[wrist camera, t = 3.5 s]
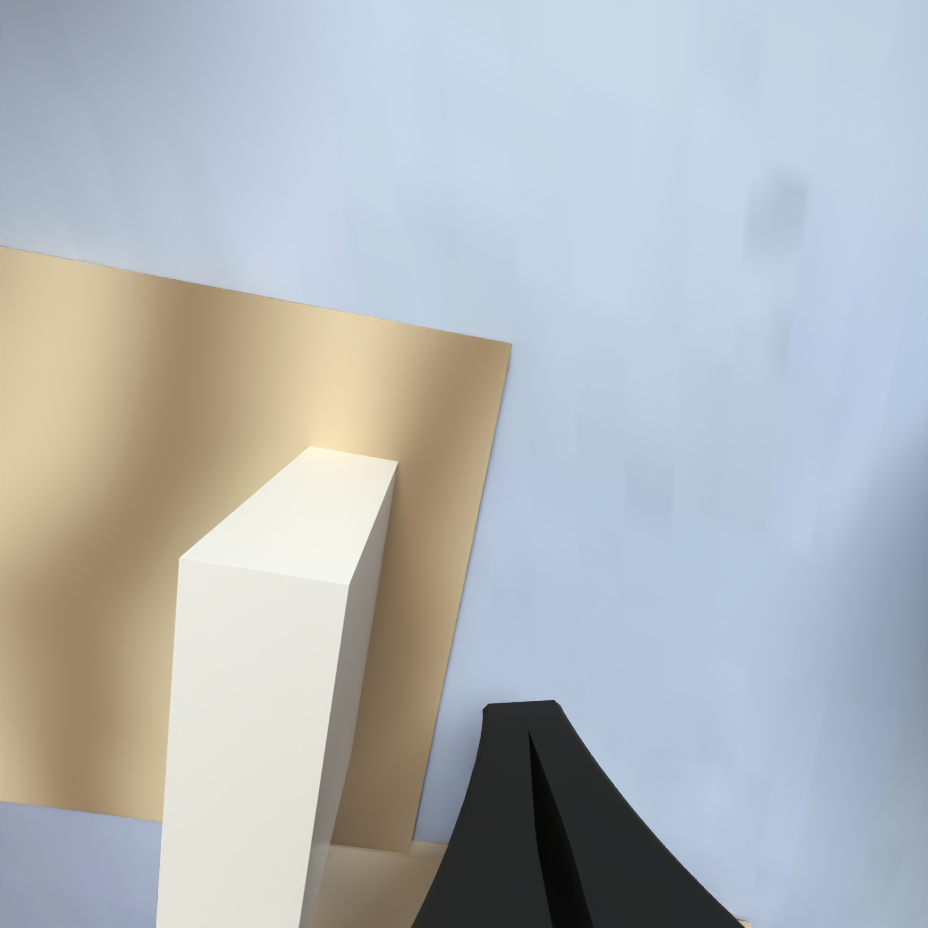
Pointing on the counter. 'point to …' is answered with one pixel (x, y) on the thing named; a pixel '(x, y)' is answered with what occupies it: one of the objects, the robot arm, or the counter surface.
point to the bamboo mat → (211, 513)
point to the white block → (269, 692)
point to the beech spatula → (378, 886)
